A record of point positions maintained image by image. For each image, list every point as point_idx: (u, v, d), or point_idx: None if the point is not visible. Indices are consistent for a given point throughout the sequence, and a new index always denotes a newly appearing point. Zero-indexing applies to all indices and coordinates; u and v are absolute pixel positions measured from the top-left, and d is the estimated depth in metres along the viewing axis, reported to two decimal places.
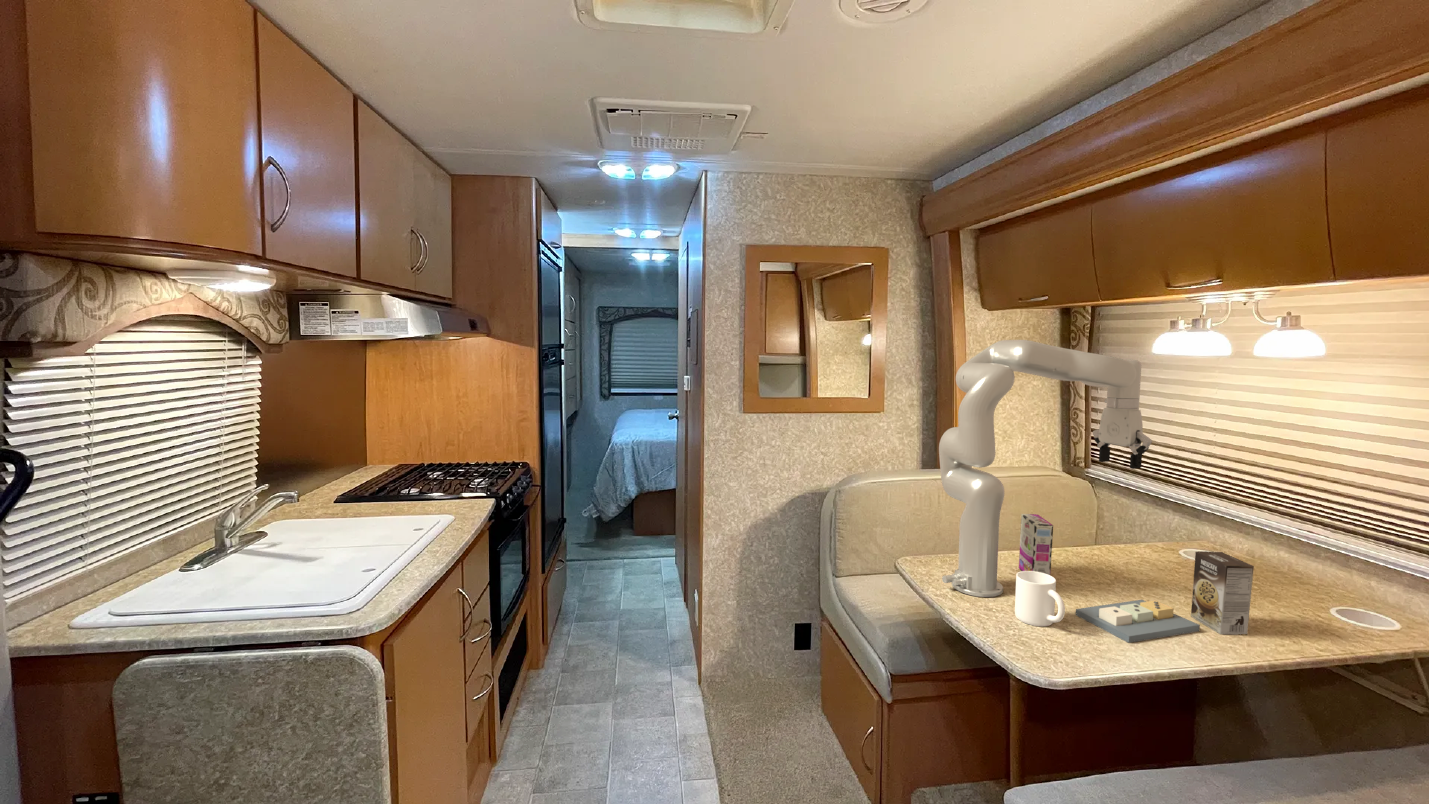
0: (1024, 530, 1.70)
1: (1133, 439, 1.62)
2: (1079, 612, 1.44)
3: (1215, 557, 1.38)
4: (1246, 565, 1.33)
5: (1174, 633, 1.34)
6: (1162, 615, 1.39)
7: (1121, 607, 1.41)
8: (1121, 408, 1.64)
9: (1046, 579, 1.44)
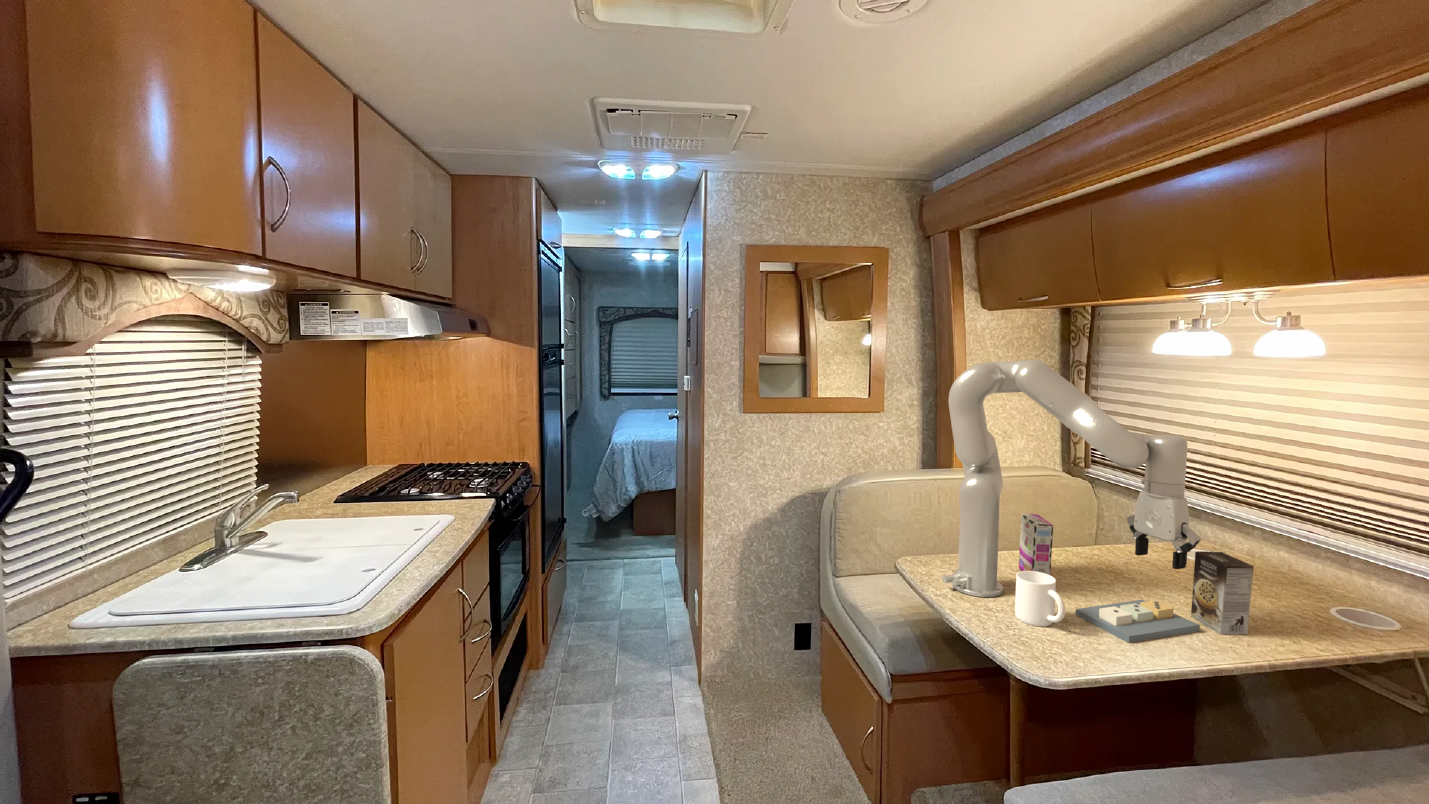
0: (1024, 530, 1.70)
1: (1178, 534, 1.34)
2: (1079, 612, 1.44)
3: (1215, 557, 1.38)
4: (1246, 565, 1.33)
5: (1174, 633, 1.34)
6: (1162, 615, 1.39)
7: (1121, 607, 1.41)
8: (1163, 495, 1.36)
9: (1046, 579, 1.44)
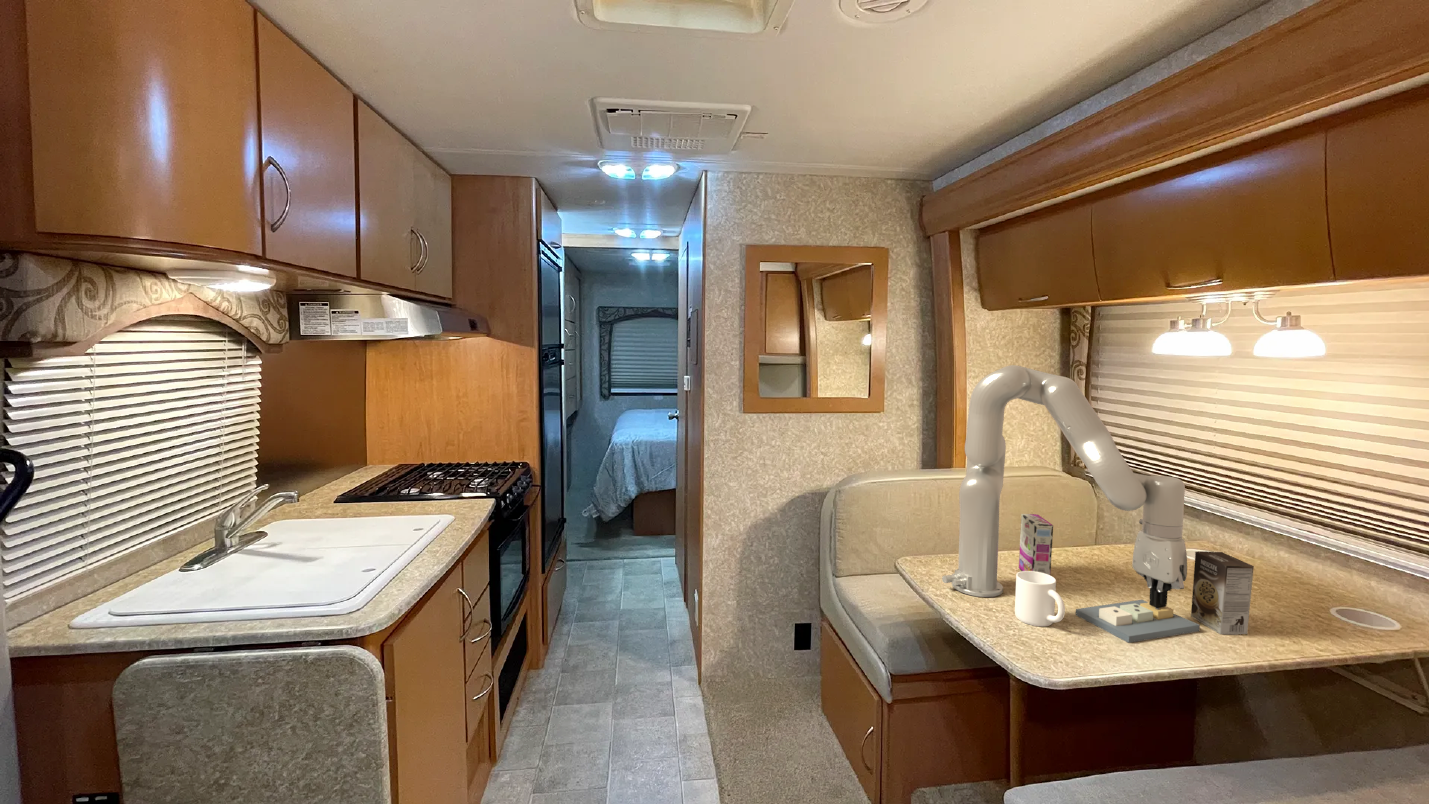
0: (1024, 530, 1.70)
1: (1176, 576, 1.35)
2: (1079, 612, 1.44)
3: (1215, 557, 1.38)
4: (1246, 565, 1.33)
5: (1174, 633, 1.34)
6: (1162, 616, 1.39)
7: (1121, 607, 1.41)
8: (1161, 537, 1.37)
9: (1046, 579, 1.44)
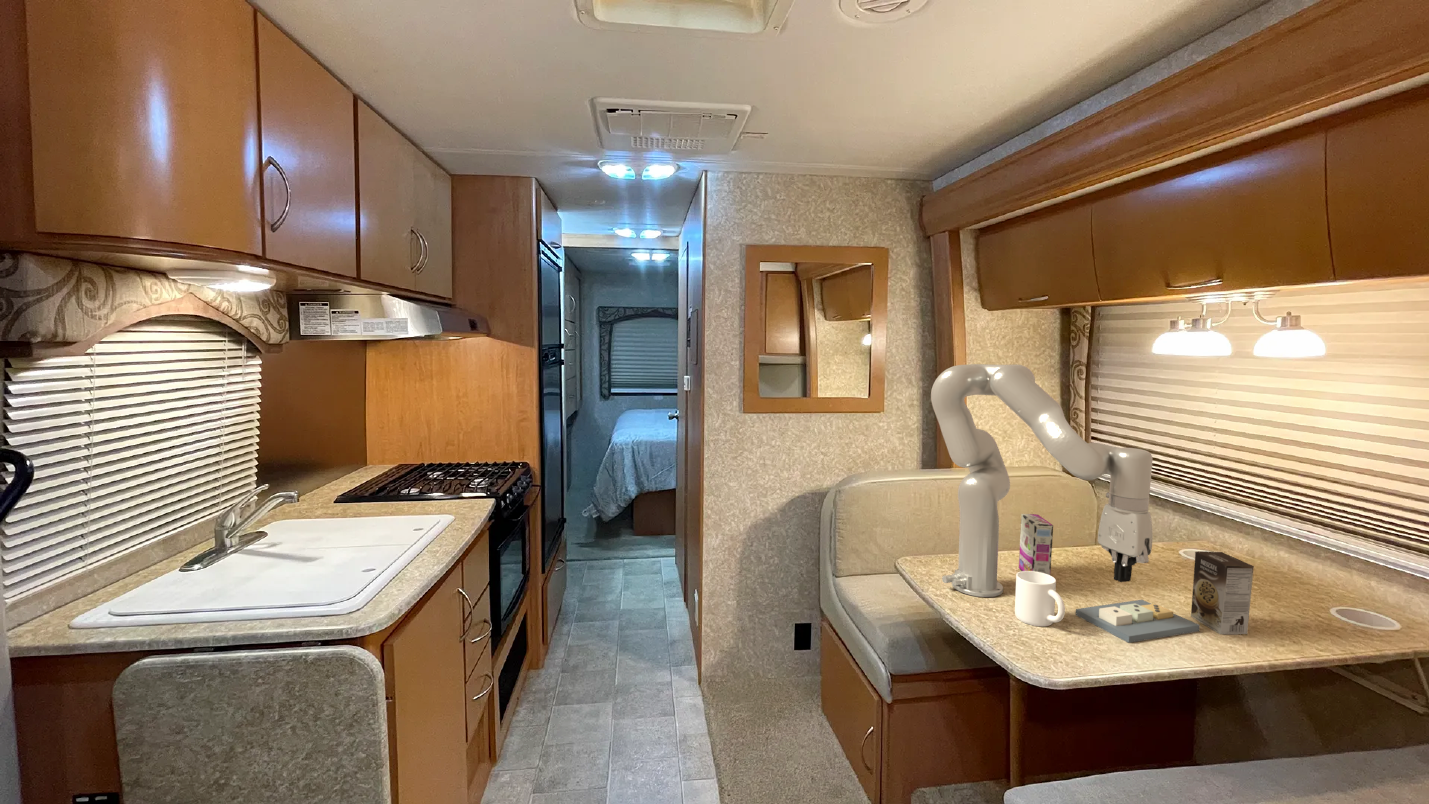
0: (1024, 530, 1.70)
1: (1141, 549, 1.32)
2: (1079, 612, 1.44)
3: (1215, 557, 1.38)
4: (1246, 565, 1.33)
5: (1174, 633, 1.34)
6: (1162, 618, 1.39)
7: (1121, 607, 1.41)
8: (1127, 510, 1.34)
9: (1046, 579, 1.44)
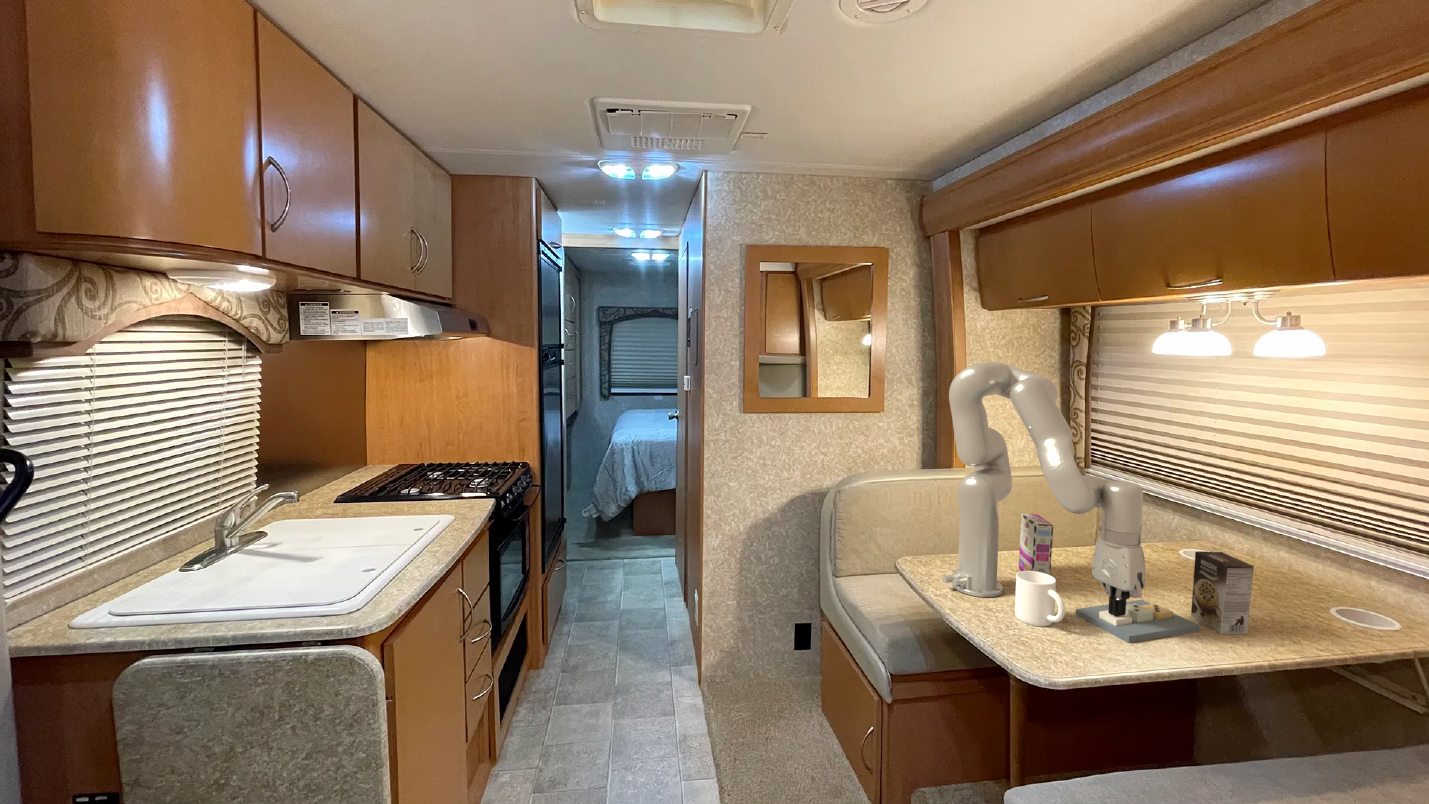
0: (1024, 530, 1.70)
1: (1133, 584, 1.32)
2: (1079, 612, 1.44)
3: (1215, 557, 1.38)
4: (1246, 565, 1.33)
5: (1174, 633, 1.34)
6: (1162, 618, 1.39)
7: None
8: (1119, 544, 1.34)
9: (1046, 579, 1.44)
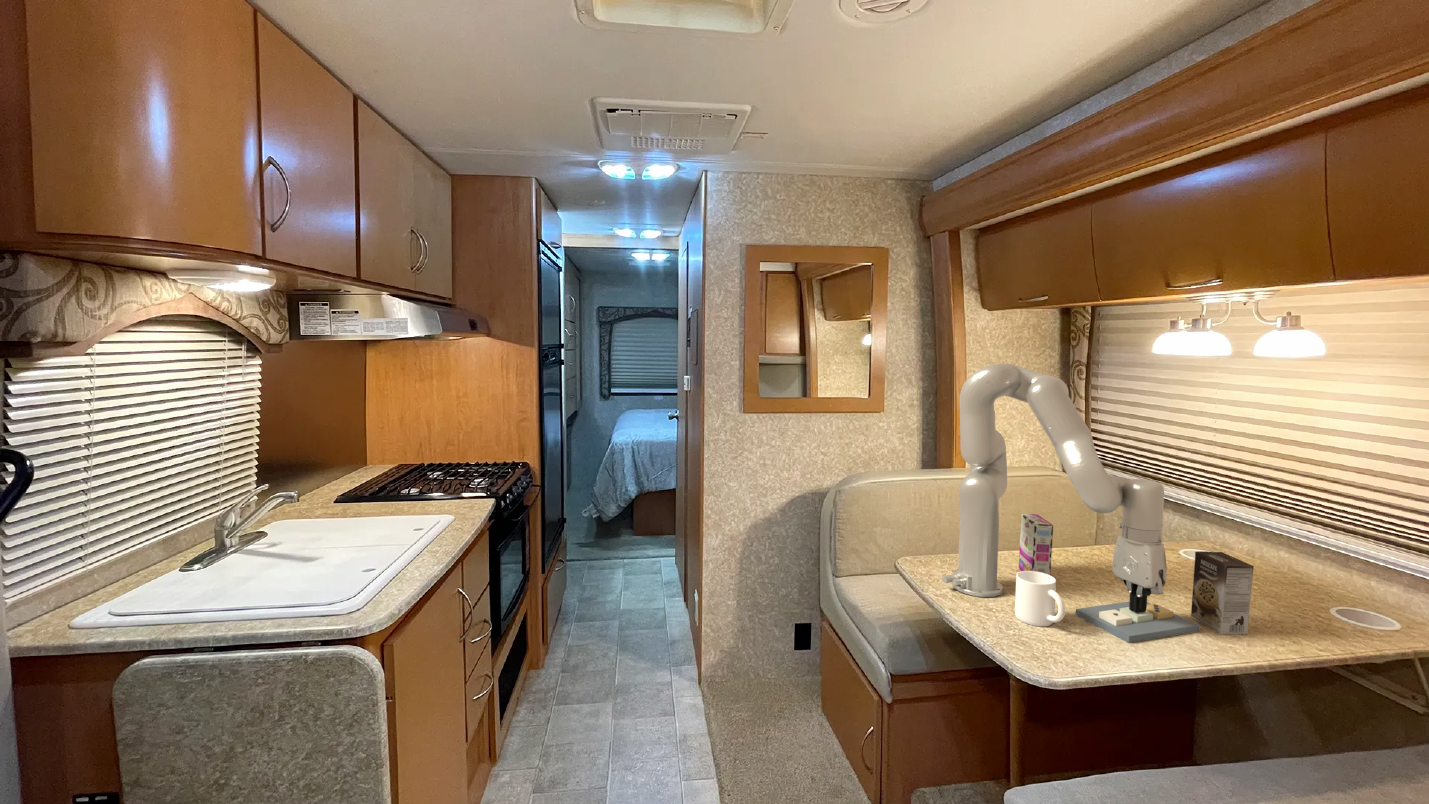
0: (1024, 530, 1.70)
1: (1155, 581, 1.34)
2: (1079, 612, 1.44)
3: (1215, 557, 1.38)
4: (1246, 565, 1.33)
5: (1174, 633, 1.34)
6: (1162, 618, 1.39)
7: (1121, 610, 1.41)
8: (1140, 542, 1.35)
9: (1046, 579, 1.44)
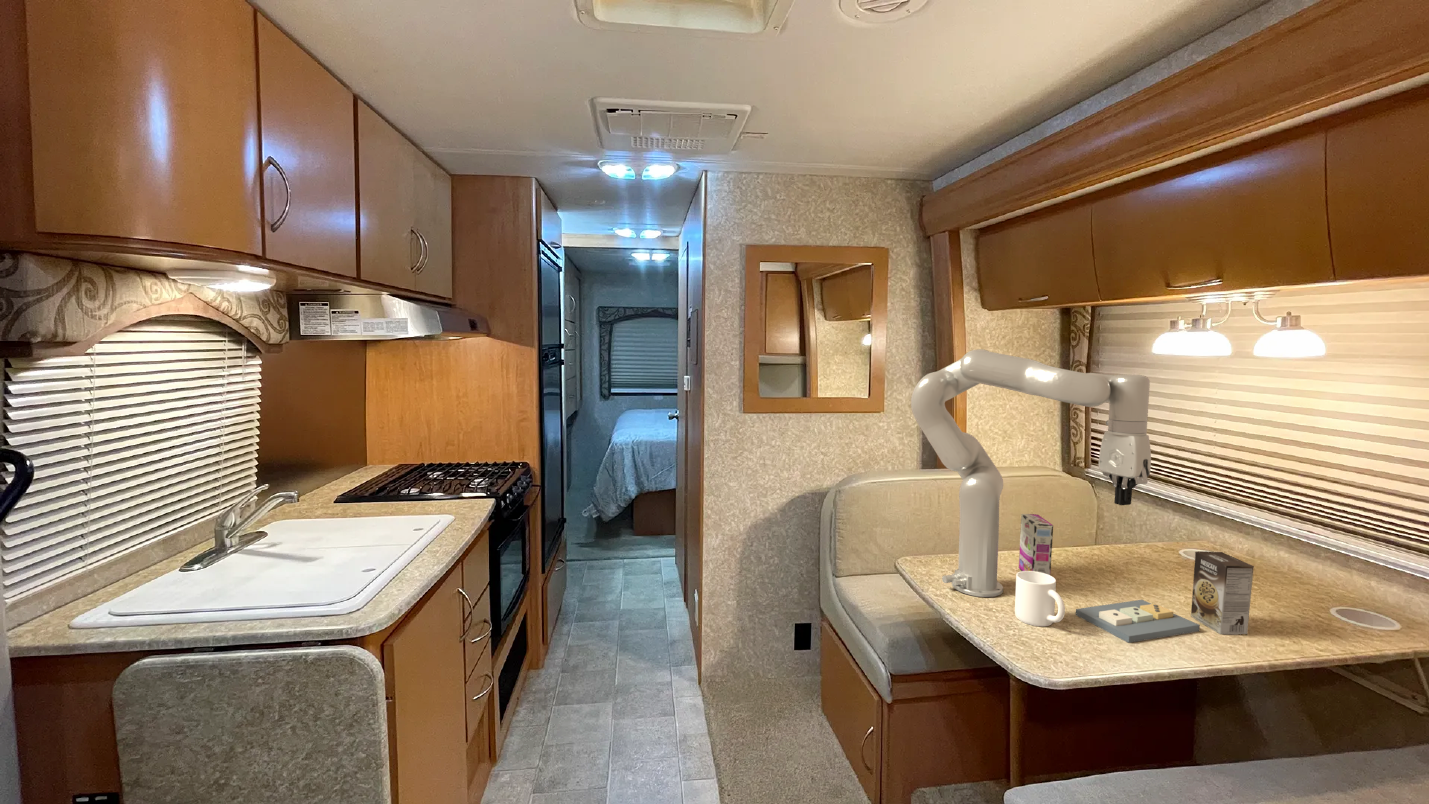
0: (1024, 530, 1.70)
1: (1139, 470, 1.36)
2: (1079, 612, 1.44)
3: (1215, 557, 1.38)
4: (1246, 565, 1.33)
5: (1174, 633, 1.34)
6: (1162, 618, 1.39)
7: (1121, 610, 1.41)
8: (1126, 433, 1.38)
9: (1046, 579, 1.44)
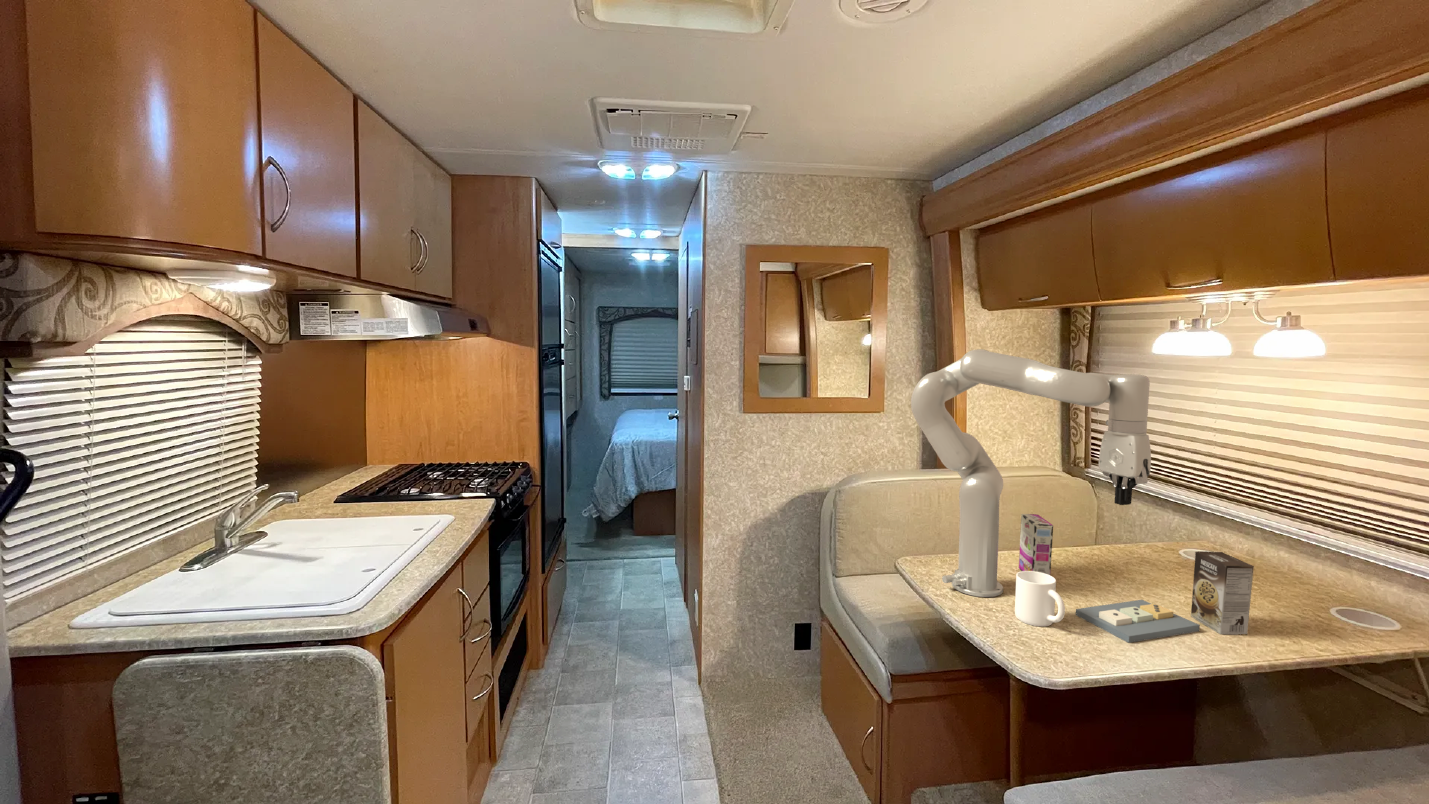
0: (1024, 530, 1.70)
1: (1139, 470, 1.36)
2: (1079, 612, 1.44)
3: (1215, 557, 1.38)
4: (1246, 565, 1.33)
5: (1174, 633, 1.34)
6: (1162, 618, 1.39)
7: (1121, 610, 1.41)
8: (1126, 433, 1.38)
9: (1046, 579, 1.44)
